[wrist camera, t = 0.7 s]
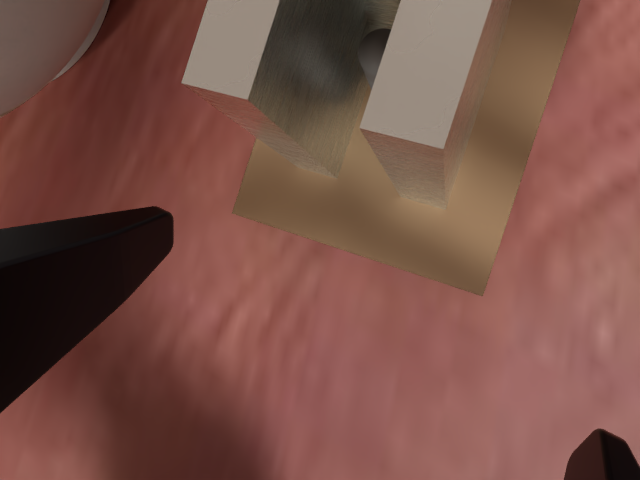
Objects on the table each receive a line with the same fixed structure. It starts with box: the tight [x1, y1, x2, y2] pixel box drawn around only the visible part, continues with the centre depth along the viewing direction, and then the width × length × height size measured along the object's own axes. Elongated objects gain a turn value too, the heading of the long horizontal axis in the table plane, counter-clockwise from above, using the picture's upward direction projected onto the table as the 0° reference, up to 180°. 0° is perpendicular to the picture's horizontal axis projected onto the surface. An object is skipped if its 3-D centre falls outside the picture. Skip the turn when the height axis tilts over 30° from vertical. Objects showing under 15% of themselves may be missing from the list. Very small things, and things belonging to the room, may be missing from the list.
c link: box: [181, 0, 512, 210], centre depth 16 cm, size 8×7×10 cm
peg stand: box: [232, 0, 580, 296], centre depth 19 cm, size 14×12×6 cm
